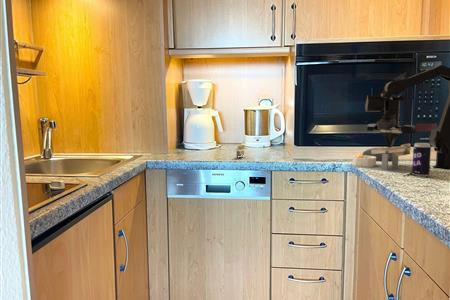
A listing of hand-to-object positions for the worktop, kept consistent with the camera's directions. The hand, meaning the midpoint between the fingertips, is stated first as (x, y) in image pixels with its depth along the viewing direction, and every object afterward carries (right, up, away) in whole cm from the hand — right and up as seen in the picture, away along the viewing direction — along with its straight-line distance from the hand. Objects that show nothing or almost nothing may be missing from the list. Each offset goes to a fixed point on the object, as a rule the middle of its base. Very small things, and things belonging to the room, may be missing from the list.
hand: (389, 148), depth 156 cm
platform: (-62, -5, +28) cm, 68 cm away
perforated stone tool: (0, -6, +12) cm, 13 cm away
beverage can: (+3, -10, -20) cm, 22 cm away
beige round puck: (-11, -7, -2) cm, 14 cm away
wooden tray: (-1, -3, -8) cm, 9 cm away
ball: (-13, -4, -1) cm, 14 cm away
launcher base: (-7, -9, -7) cm, 13 cm away
